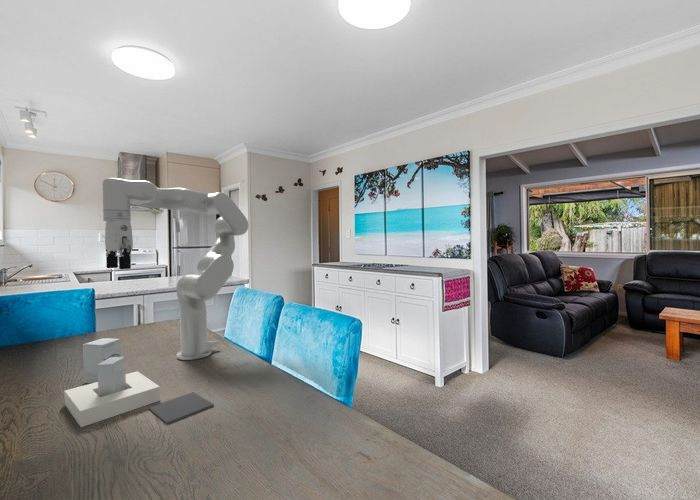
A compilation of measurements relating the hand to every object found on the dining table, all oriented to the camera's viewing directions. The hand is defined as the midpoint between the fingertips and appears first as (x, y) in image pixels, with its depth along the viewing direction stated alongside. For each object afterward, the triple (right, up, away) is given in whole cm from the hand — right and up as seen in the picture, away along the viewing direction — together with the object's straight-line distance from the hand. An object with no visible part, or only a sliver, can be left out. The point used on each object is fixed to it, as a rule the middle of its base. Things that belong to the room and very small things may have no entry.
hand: (118, 268), depth 115 cm
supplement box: (-4, -36, -1) cm, 37 cm away
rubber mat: (+31, -36, -22) cm, 53 cm away
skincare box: (+10, -37, -18) cm, 42 cm away
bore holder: (+10, -37, -18) cm, 42 cm away
